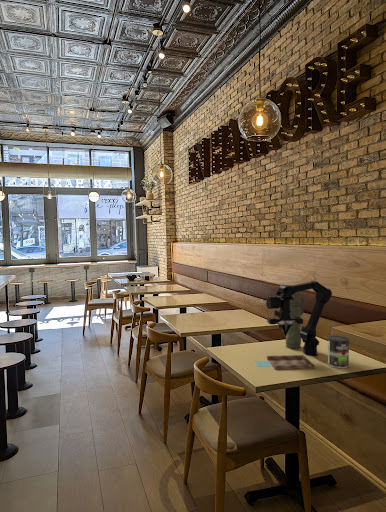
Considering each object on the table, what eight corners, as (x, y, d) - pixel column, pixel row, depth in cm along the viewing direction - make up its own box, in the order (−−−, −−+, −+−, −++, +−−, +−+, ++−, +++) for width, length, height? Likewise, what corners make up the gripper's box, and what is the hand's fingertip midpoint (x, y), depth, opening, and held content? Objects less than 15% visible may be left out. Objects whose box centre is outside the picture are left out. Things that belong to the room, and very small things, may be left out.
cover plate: (268, 363, 200) (268, 361, 200) (271, 368, 192) (271, 366, 192) (255, 363, 200) (255, 361, 200) (257, 368, 192) (257, 366, 192)
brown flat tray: (303, 359, 205) (303, 354, 205) (314, 369, 189) (314, 365, 189) (266, 360, 204) (267, 355, 204) (274, 370, 188) (274, 365, 188)
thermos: (305, 348, 224) (306, 290, 223) (287, 349, 223) (287, 290, 221) (299, 344, 233) (299, 288, 231) (281, 345, 231) (281, 288, 229)
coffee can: (352, 367, 191) (353, 340, 191) (334, 369, 190) (334, 341, 189) (341, 361, 201) (342, 335, 201) (323, 362, 200) (324, 336, 199)
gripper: (297, 305, 215) (296, 332, 216) (264, 305, 214) (264, 332, 215) (303, 308, 204) (303, 337, 205) (269, 309, 203) (269, 337, 204)
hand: (284, 336), depth 208 cm, fingers closed
